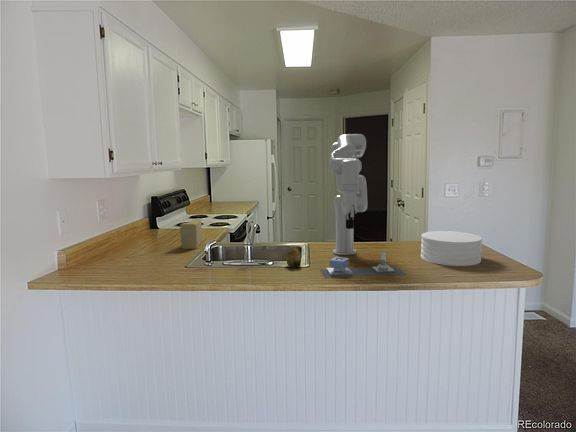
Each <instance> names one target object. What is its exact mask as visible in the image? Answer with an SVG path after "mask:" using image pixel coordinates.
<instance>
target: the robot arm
mask: <svg viewBox="0 0 576 432" xmlns="http://www.w3.org/2000/svg"><path fill="white" fill-rule="evenodd" d="M366 149H367V139H366V137H365V135H364V134H362V133H352V134H351V133H347V134H342V135H340V136H338V139H337V141H336V142H334V143H333V144H331V147H330V152H331V155H330V157H329V170H330V173H331V174H332V175H335V178H336V179H335V181H336V182H335V183H336V190H337V191H338V192H339V193H341V194H338V195H336V196H335V197H334V198H333V199H334V200H333V206H334V207H333V208H334V213H335V214H334V215H335V248H334V249H332V253H333V254H334V255H339V256H352V255H355V254H357V249H356V248H355V249H354V235H355V234H354V233H355V232H354V231H355V230H354V229H355V228H354V226H355V225H354V224H355V222H354V218H355V215H357V213H364V212H366V211H367V209H368V186H367V180H366V179H367V178H366V177H365V176H364V175H362V174H360V172H361V171H362V161H361V160H360V158H362V157H363V156H364V154H365V151H366Z"/></svg>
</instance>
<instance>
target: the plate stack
mask: <svg viewBox="0 0 576 432" xmlns="http://www.w3.org/2000/svg"><path fill="white" fill-rule="evenodd" d="M420 238H421V239H420V242H421V245H420V258H421V259H422V260H424V261H426V262H429V263H432V264H436V265H443V266H453V267H467V266H468V267H469V266H475V265H479V264H481V262H482V247H483V243H482V242H483V237H482V236H481V235H477V234H475V233H470V232H464V231H451V230H450V231H449V230H437V231H436V230H433V231H427V232H423V233H421V237H420Z"/></svg>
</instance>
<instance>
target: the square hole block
mask: <svg viewBox="0 0 576 432" xmlns="http://www.w3.org/2000/svg"><path fill="white" fill-rule="evenodd" d="M337 259H342V260H337ZM346 267H348V268H349V267H350V258H349V257H340V256H334V257H333V258H331V259H330V260H329V268H336V269H345V268H346Z"/></svg>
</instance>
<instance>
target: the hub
mask: <svg viewBox="0 0 576 432" xmlns="http://www.w3.org/2000/svg"><path fill="white" fill-rule="evenodd" d="M337 260H342V259H337ZM349 268H350V267H349V266H348V267H346V268H345V269H336V268H330V267H326V270H327V271H328V273H329V274H330V276H343V275H353V272H352V271H351V270H350V269H349Z"/></svg>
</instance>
